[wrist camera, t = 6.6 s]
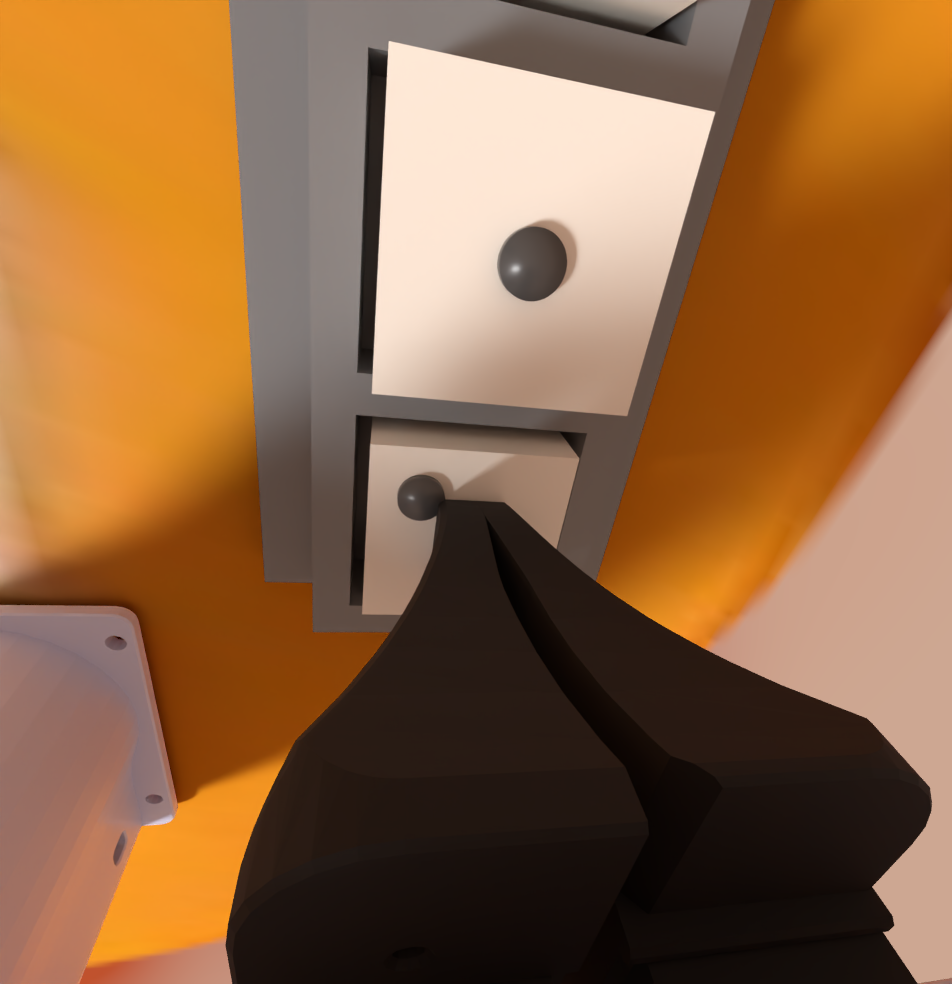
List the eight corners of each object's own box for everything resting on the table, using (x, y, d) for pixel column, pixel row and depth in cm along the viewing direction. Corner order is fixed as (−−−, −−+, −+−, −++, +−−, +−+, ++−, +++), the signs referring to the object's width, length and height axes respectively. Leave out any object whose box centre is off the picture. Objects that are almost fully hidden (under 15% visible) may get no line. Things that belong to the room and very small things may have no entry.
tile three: (517, 554, 14) (541, 621, 12) (365, 550, 13) (362, 620, 11) (547, 415, 12) (583, 462, 10) (373, 400, 11) (370, 448, 9)
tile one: (579, 373, 10) (632, 420, 8) (375, 352, 10) (371, 397, 7) (635, 134, 9) (723, 108, 6) (388, 84, 8) (387, 34, 6)
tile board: (582, 567, 16) (616, 632, 14) (272, 559, 14) (248, 631, 12) (838, -319, 8) (1031, -543, 6) (213, -582, 6) (104, -1065, 4)
